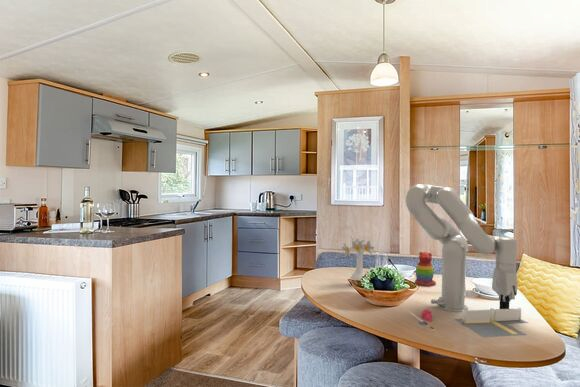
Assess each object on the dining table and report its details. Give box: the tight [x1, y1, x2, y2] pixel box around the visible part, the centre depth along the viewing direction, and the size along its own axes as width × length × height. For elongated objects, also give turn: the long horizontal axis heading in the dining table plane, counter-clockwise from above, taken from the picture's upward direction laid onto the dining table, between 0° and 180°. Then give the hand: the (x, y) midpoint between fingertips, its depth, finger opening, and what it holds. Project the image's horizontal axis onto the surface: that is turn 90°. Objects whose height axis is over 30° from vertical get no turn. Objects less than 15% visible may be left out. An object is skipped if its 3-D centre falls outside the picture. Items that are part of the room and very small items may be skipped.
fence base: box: [454, 308, 529, 338], centre depth 148 cm, size 28×18×6 cm, turn 99°
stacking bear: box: [414, 251, 437, 287], centre depth 211 cm, size 11×10×18 cm
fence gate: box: [494, 307, 522, 321], centre depth 154 cm, size 12×1×5 cm, turn 99°
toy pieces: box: [418, 308, 434, 330], centre depth 151 cm, size 12×11×4 cm
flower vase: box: [341, 238, 375, 281], centre depth 205 cm, size 13×18×25 cm
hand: (504, 310), depth 160 cm, fingers closed
